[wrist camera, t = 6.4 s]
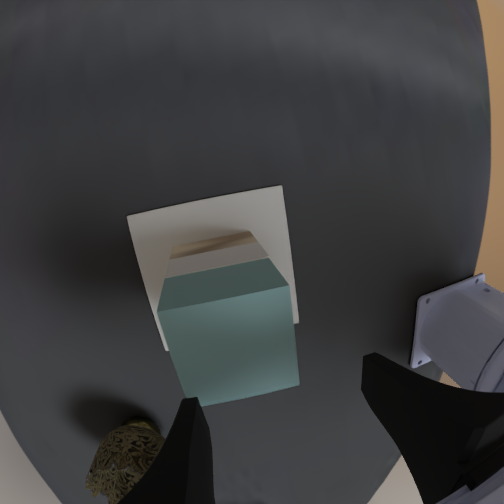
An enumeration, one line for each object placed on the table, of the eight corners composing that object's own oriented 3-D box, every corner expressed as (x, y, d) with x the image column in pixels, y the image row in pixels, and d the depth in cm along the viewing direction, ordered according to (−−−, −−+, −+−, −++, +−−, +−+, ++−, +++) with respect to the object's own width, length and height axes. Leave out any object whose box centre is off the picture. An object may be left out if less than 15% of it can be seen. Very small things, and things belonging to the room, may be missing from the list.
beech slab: (249, 230, 20) (257, 241, 18) (261, 300, 22) (270, 319, 19) (172, 246, 20) (169, 259, 17) (190, 315, 21) (190, 336, 19)
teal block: (268, 257, 15) (289, 285, 12) (280, 344, 16) (299, 384, 13) (164, 278, 14) (156, 311, 11) (189, 363, 16) (190, 407, 13)
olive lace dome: (85, 410, 22) (65, 477, 15) (150, 387, 23) (142, 464, 15) (134, 456, 25) (128, 520, 17) (196, 439, 25) (202, 509, 18)
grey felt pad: (280, 185, 20) (281, 185, 20) (297, 320, 23) (299, 322, 23) (127, 215, 19) (126, 216, 19) (166, 348, 22) (165, 350, 22)
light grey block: (258, 241, 18) (269, 256, 15) (270, 319, 19) (281, 343, 16) (169, 259, 17) (164, 277, 14) (190, 336, 19) (190, 363, 16)
